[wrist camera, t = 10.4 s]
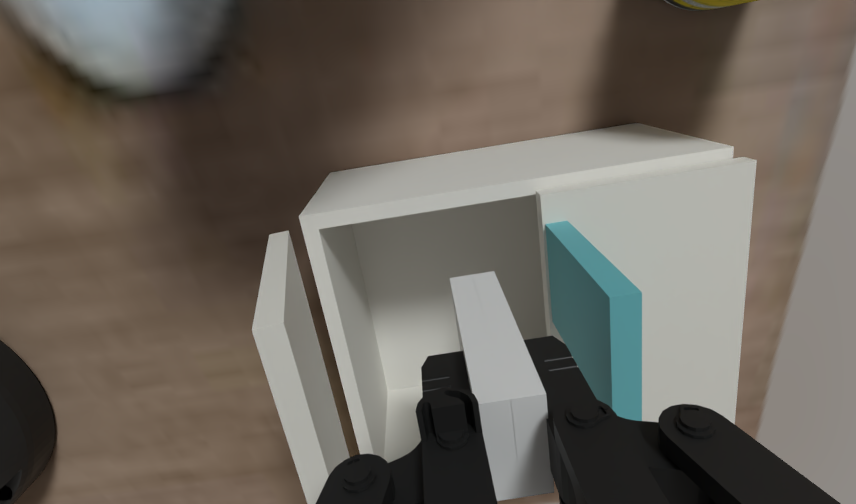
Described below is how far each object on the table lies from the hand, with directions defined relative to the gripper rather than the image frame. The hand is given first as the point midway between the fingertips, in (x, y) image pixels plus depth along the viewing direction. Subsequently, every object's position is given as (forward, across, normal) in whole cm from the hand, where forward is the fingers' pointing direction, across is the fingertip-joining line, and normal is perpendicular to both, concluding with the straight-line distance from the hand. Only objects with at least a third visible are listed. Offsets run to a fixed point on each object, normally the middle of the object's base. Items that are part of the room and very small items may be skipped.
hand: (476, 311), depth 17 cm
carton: (+11, +2, -5) cm, 12 cm away
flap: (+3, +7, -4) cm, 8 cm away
